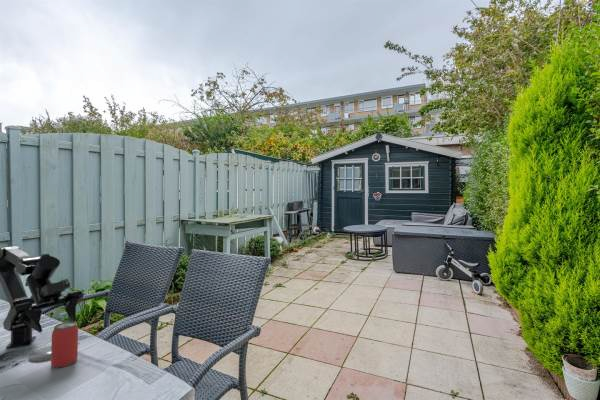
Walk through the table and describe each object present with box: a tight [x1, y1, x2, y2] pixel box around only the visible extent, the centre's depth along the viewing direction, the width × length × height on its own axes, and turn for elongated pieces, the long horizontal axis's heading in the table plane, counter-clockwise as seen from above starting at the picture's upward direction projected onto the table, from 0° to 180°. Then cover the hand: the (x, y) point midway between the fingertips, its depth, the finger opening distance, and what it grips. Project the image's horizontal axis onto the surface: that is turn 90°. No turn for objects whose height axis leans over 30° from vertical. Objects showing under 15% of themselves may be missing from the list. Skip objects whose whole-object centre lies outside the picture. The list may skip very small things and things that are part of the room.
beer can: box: [50, 321, 79, 368], centre depth 94 cm, size 7×7×12 cm
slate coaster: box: [28, 345, 52, 363], centre depth 99 cm, size 10×10×1 cm
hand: (58, 326), depth 96 cm, fingers open, 9 cm apart
